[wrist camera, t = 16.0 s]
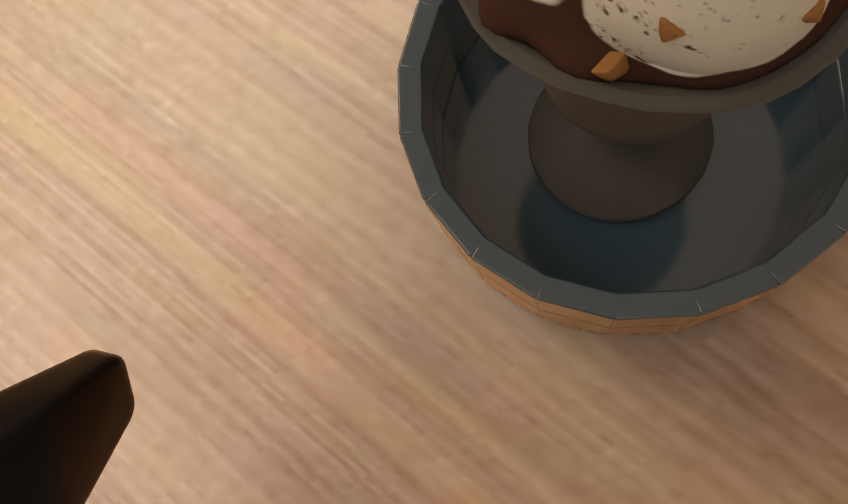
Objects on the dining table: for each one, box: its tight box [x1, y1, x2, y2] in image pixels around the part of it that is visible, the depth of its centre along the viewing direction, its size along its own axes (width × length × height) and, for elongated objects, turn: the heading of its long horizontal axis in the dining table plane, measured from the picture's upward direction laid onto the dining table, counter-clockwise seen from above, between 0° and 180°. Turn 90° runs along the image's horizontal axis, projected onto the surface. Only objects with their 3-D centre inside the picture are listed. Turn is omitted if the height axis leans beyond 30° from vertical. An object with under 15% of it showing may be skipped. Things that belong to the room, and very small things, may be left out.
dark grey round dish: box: [397, 0, 848, 335], centre depth 19 cm, size 11×11×4 cm
